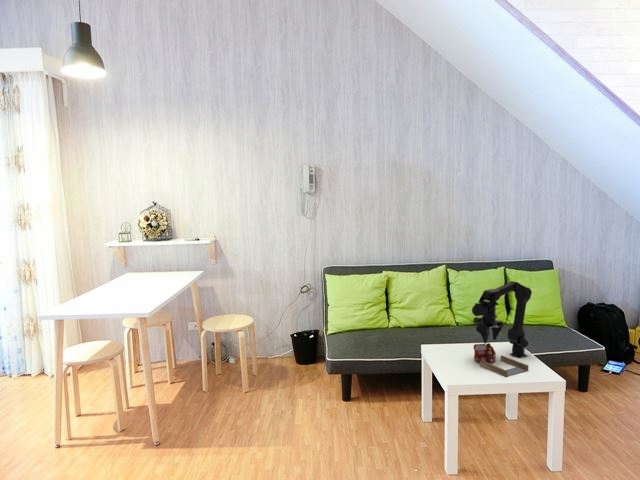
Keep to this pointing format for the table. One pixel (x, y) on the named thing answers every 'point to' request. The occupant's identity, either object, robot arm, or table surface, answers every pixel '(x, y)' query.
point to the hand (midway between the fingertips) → (489, 341)
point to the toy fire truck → (484, 353)
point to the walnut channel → (500, 370)
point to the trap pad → (514, 371)
